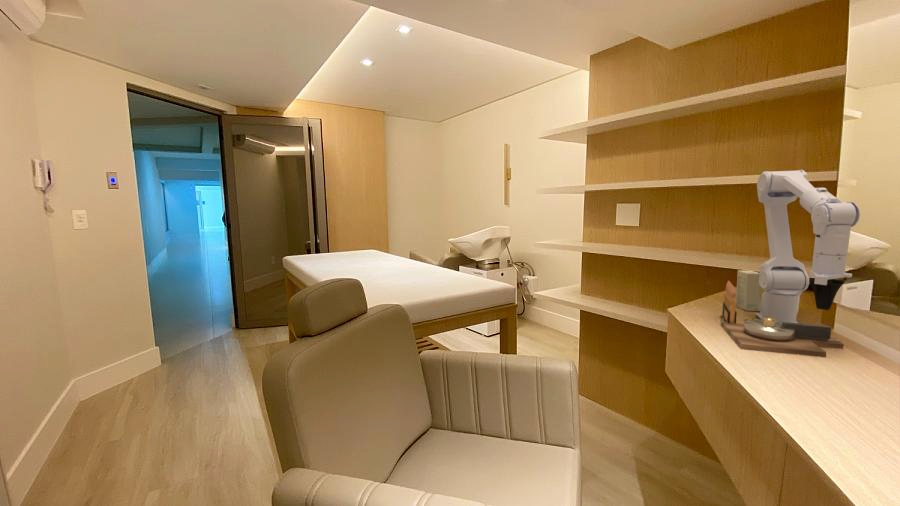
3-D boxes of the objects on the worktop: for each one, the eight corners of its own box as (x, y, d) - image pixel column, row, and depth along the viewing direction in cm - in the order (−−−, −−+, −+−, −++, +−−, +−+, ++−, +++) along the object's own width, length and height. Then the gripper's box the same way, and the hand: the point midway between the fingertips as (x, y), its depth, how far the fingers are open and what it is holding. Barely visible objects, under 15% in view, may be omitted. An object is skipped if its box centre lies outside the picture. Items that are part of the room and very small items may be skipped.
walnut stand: (720, 325, 110) (721, 320, 109) (820, 333, 101) (821, 328, 101) (741, 348, 93) (741, 343, 93) (862, 360, 85) (862, 354, 85)
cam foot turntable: (751, 337, 95) (752, 322, 95) (738, 325, 105) (739, 311, 104) (839, 345, 89) (841, 329, 89) (817, 331, 98) (819, 316, 98)
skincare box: (760, 311, 121) (763, 273, 119) (745, 311, 122) (748, 273, 120) (749, 305, 127) (752, 269, 125) (734, 305, 128) (737, 269, 126)
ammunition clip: (735, 329, 107) (738, 288, 105) (727, 328, 108) (730, 287, 106) (729, 318, 116) (732, 280, 115) (722, 317, 117) (724, 279, 116)
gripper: (848, 259, 83) (840, 319, 85) (859, 251, 91) (852, 306, 94) (805, 255, 89) (798, 312, 91) (819, 249, 97) (813, 300, 99)
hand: (823, 308), depth 92 cm, fingers closed
